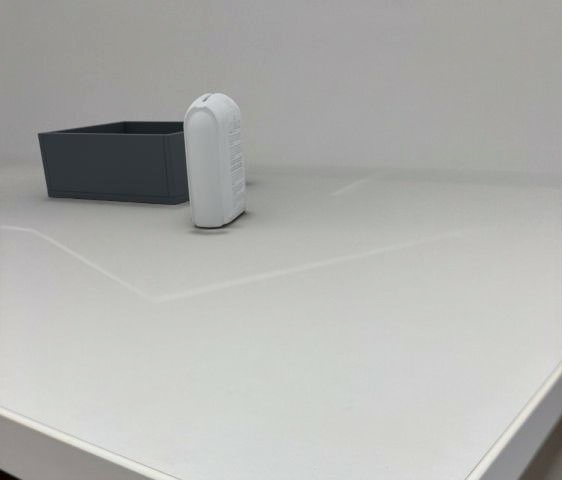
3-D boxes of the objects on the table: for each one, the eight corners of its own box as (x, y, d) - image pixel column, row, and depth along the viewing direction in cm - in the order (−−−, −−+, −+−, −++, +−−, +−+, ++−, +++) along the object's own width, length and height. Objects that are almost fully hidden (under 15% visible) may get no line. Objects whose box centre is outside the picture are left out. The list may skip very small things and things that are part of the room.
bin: (48, 196, 89) (37, 133, 86) (130, 175, 103) (123, 120, 100) (175, 204, 81) (168, 135, 78) (244, 181, 95) (241, 121, 92)
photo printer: (214, 208, 78) (206, 91, 73) (251, 208, 77) (245, 90, 72) (186, 228, 69) (174, 96, 64) (227, 229, 68) (219, 95, 63)
